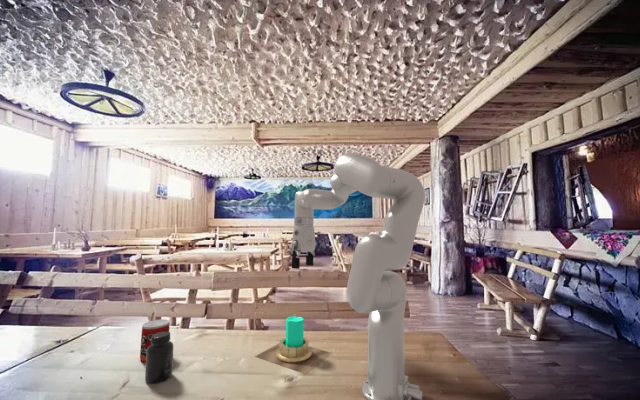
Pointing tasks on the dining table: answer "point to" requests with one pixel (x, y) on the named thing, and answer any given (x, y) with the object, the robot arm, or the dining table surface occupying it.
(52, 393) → the dining table surface
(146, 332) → the canned food
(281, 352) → the candle holder
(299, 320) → the candle
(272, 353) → the walnut board
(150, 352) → the supplement bottle
